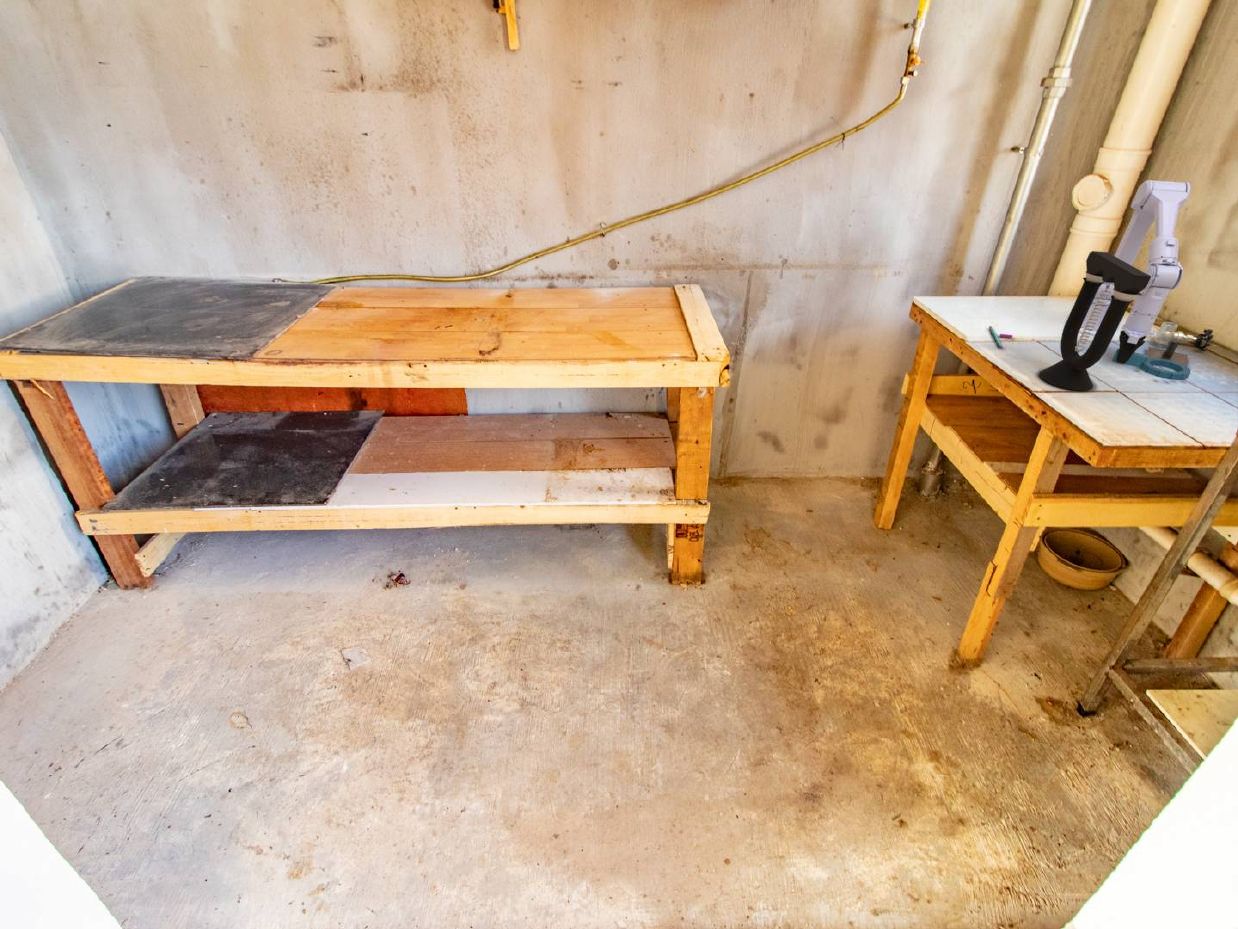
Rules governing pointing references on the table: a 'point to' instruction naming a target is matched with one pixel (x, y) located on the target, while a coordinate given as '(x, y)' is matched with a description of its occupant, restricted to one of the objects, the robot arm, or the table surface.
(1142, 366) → the ring
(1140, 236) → the robot arm
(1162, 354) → the ring stand
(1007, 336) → the squeegee
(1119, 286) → the spring support
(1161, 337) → the valve
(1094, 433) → the table surface
